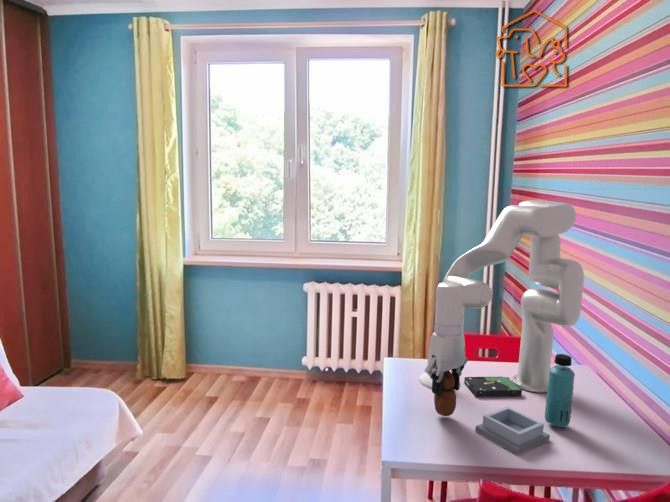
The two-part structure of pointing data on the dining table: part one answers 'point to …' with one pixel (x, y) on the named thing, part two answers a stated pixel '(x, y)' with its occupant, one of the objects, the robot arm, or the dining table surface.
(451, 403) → the wooden figurine
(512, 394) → the disk drive
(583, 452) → the dining table surface
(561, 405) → the beverage bottle
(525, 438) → the figurine dock
